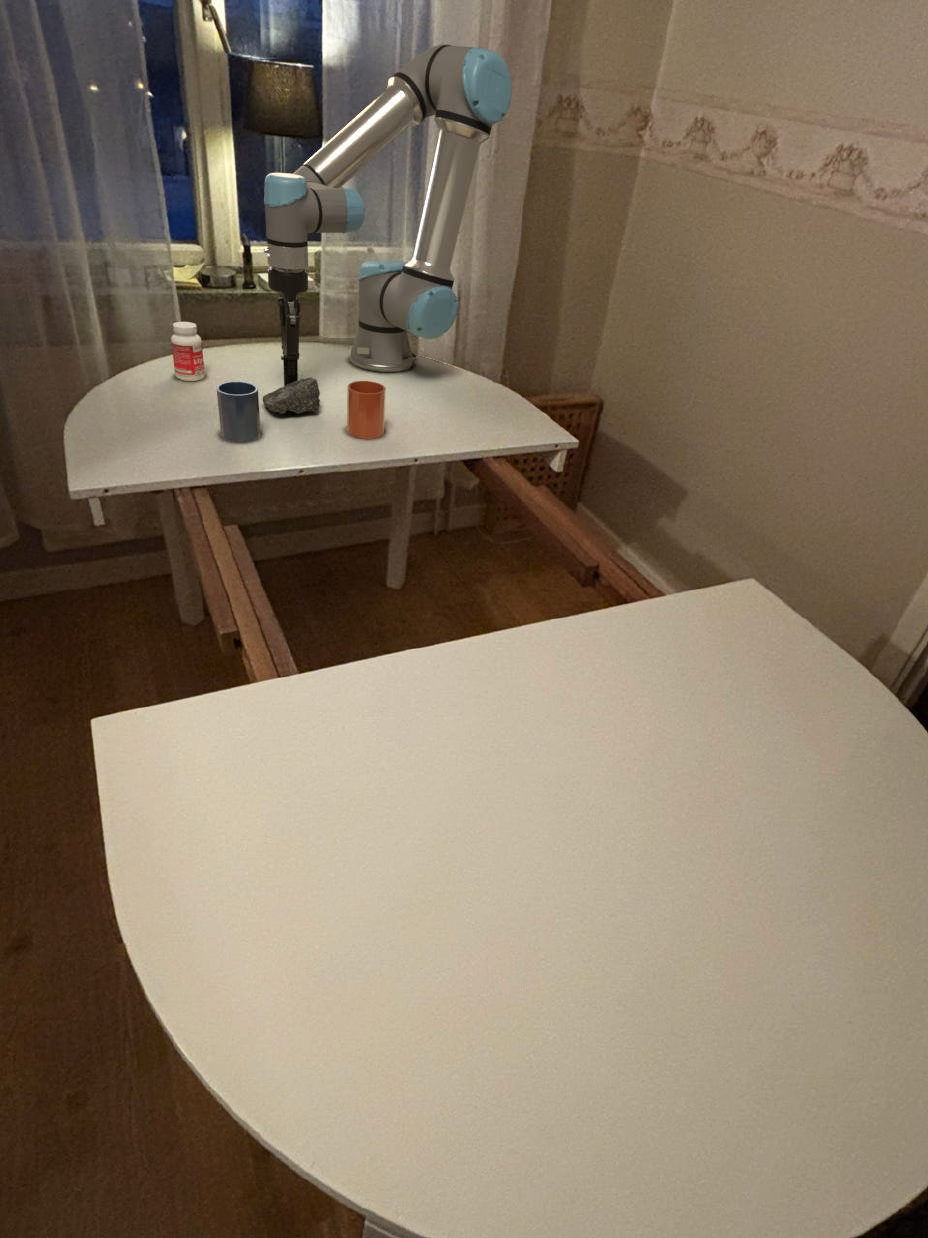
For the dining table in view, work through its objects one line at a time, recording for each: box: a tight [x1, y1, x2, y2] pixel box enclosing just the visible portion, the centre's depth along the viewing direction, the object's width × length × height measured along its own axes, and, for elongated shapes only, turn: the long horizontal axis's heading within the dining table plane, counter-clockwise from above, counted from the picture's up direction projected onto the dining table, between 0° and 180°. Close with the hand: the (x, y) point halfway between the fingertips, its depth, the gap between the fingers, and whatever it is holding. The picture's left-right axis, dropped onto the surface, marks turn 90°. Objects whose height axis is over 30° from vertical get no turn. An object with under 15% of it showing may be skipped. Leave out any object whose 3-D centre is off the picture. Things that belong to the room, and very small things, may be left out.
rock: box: [262, 377, 321, 415], centre depth 150 cm, size 9×11×6 cm
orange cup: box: [346, 380, 387, 440], centre depth 145 cm, size 7×7×9 cm
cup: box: [216, 380, 262, 444], centre depth 137 cm, size 7×7×9 cm
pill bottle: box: [170, 321, 206, 382], centre depth 158 cm, size 6×6×11 cm
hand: (291, 389), depth 155 cm, fingers closed
